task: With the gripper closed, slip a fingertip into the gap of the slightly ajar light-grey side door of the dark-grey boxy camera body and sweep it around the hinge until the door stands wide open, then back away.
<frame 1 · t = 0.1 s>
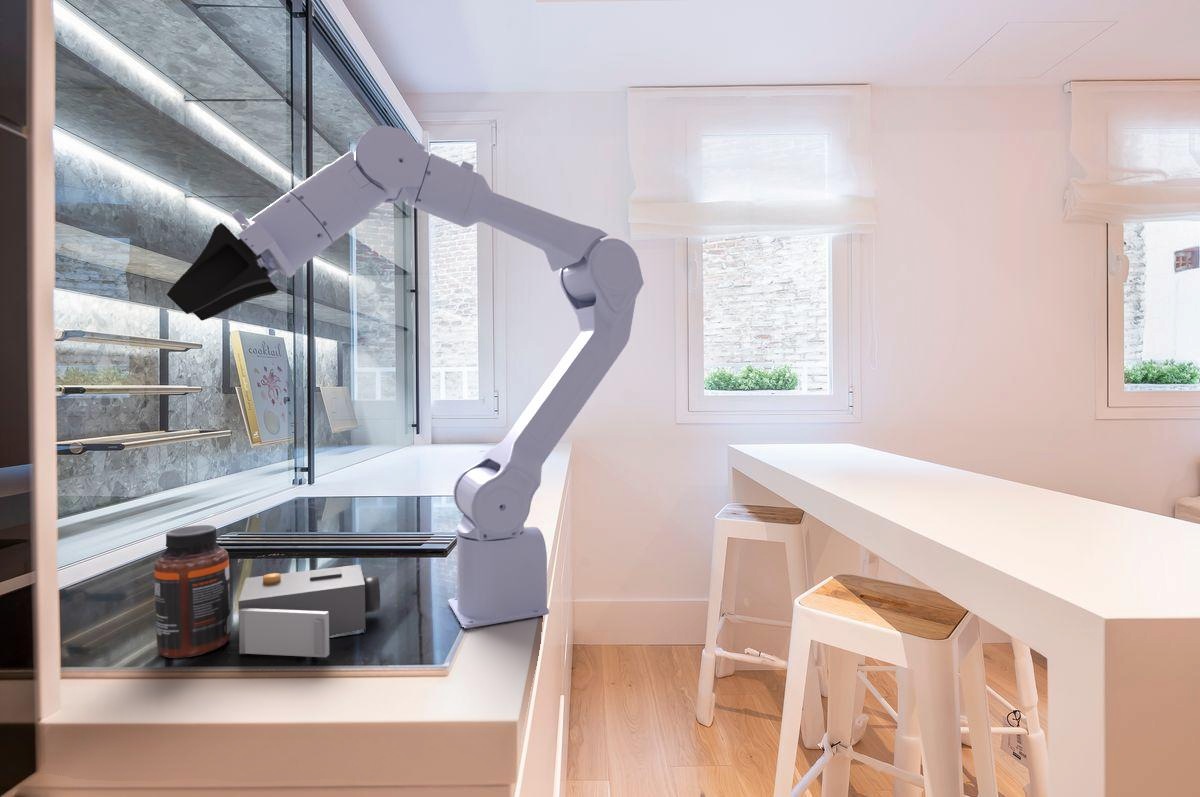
hand: (185, 308, 55), 32 cm above the counter, tool tilted 50°, fingers open, 7 cm apart
supplement bottle: (195, 648, 59), on the counter
camera body: (305, 629, 63), on the counter
side door: (282, 633, 56), point 2 cm above the counter, hinge at 30.0°
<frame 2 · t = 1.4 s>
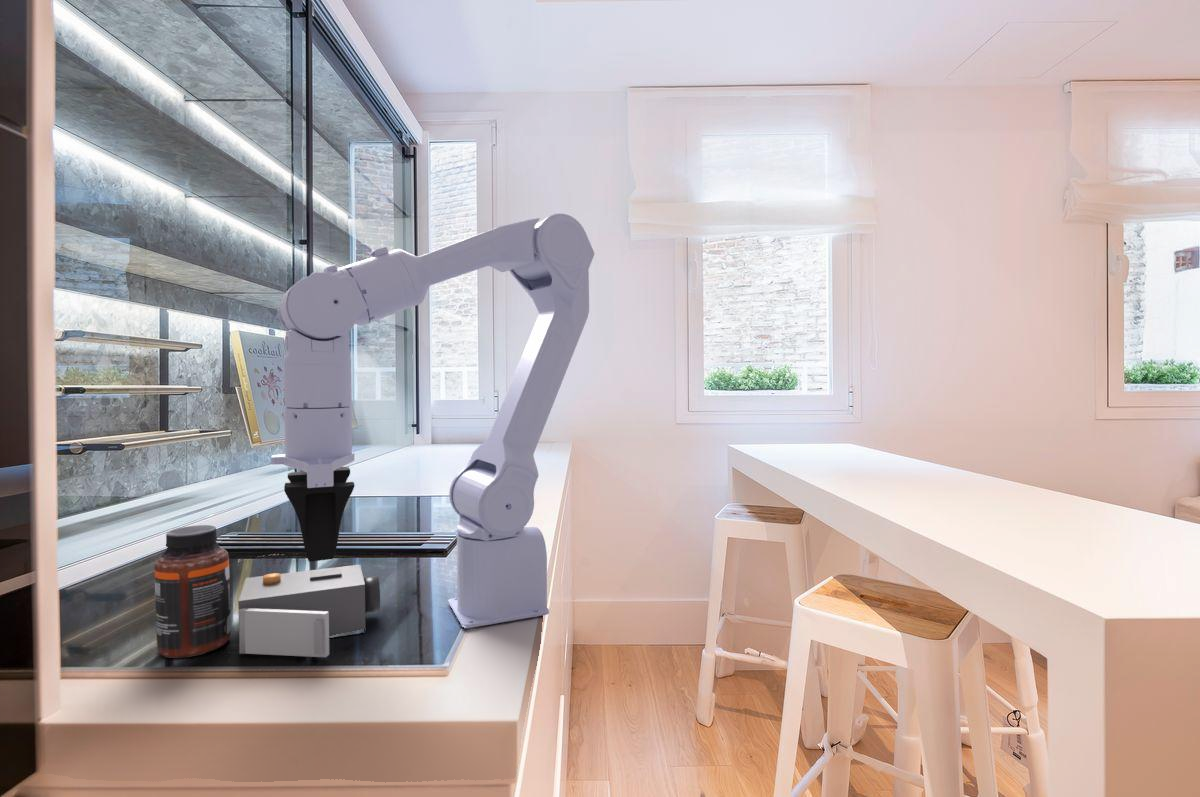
hand: (320, 550, 58), 9 cm above the counter, tool pointing down, fingers open, 5 cm apart
nothing on the counter moved.
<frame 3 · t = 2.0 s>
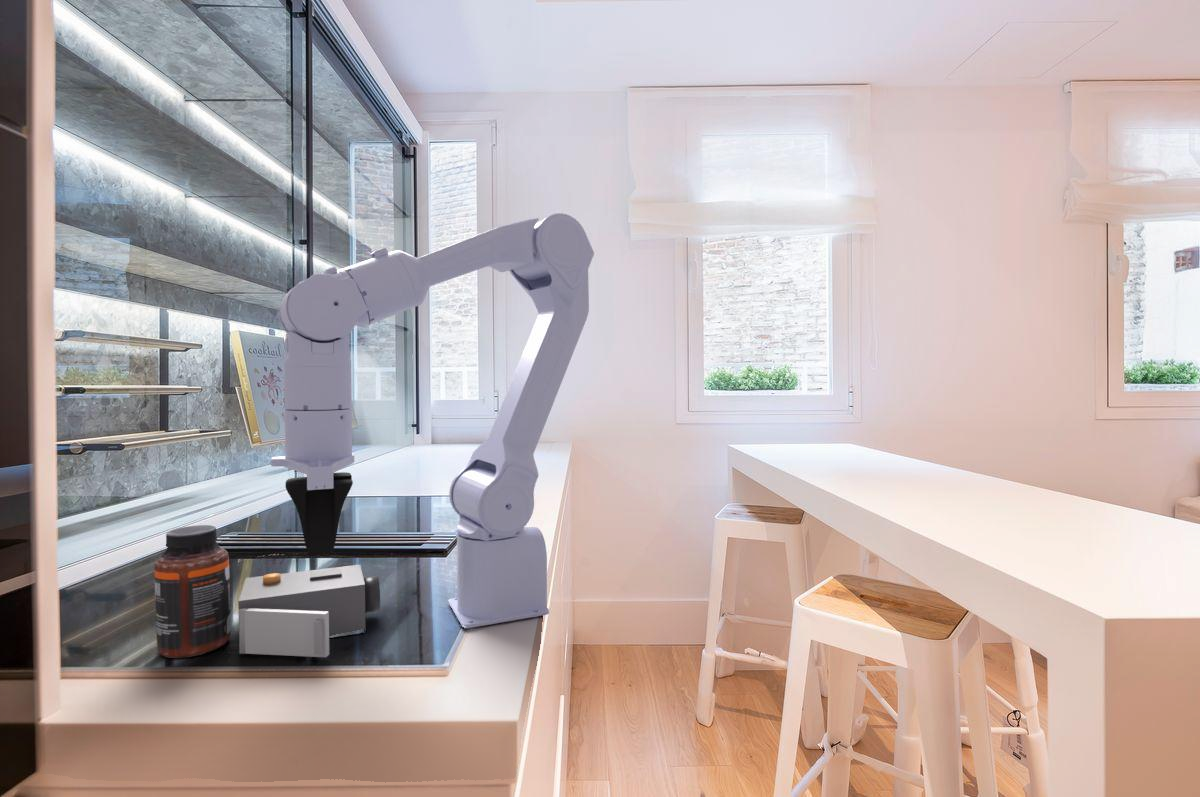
hand: (320, 552, 58), 9 cm above the counter, tool pointing down, fingers closed
nothing on the counter moved.
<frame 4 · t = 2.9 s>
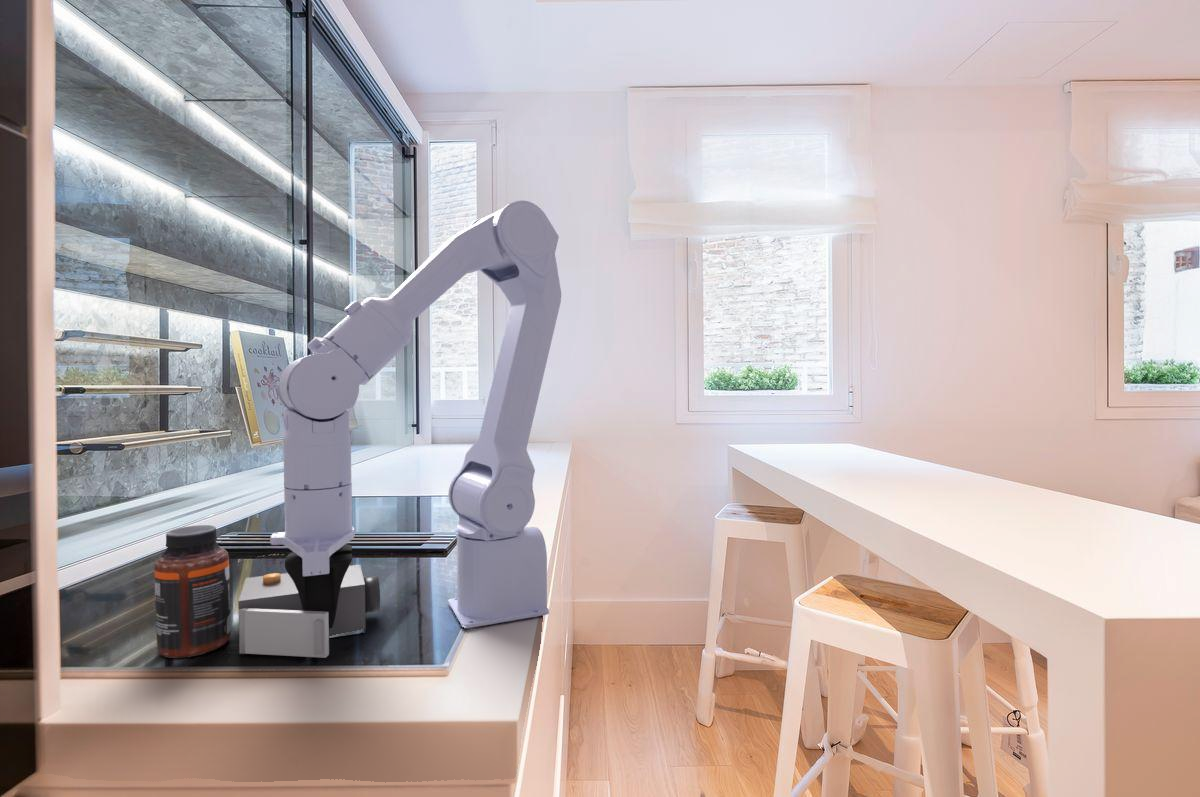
hand: (320, 628, 58), 2 cm above the counter, tool pointing down, fingers closed, pressing on side door
side door: (281, 633, 56), point 2 cm above the counter, hinge at 30.5°, touching gripper
everything else where it was.
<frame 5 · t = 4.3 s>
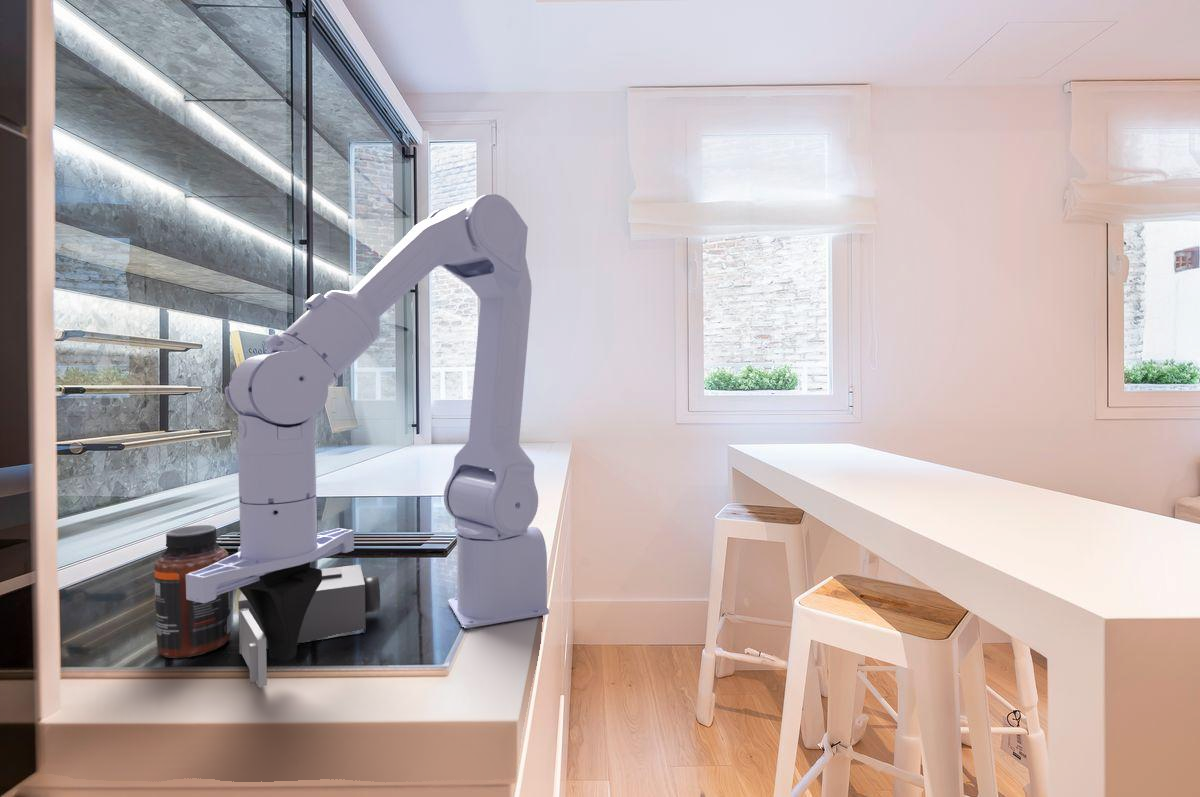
hand: (282, 657, 52), 2 cm above the counter, tool pointing down, fingers closed
side door: (249, 645, 54), point 2 cm above the counter, hinge at 75.8°, touching gripper
everything else where it was.
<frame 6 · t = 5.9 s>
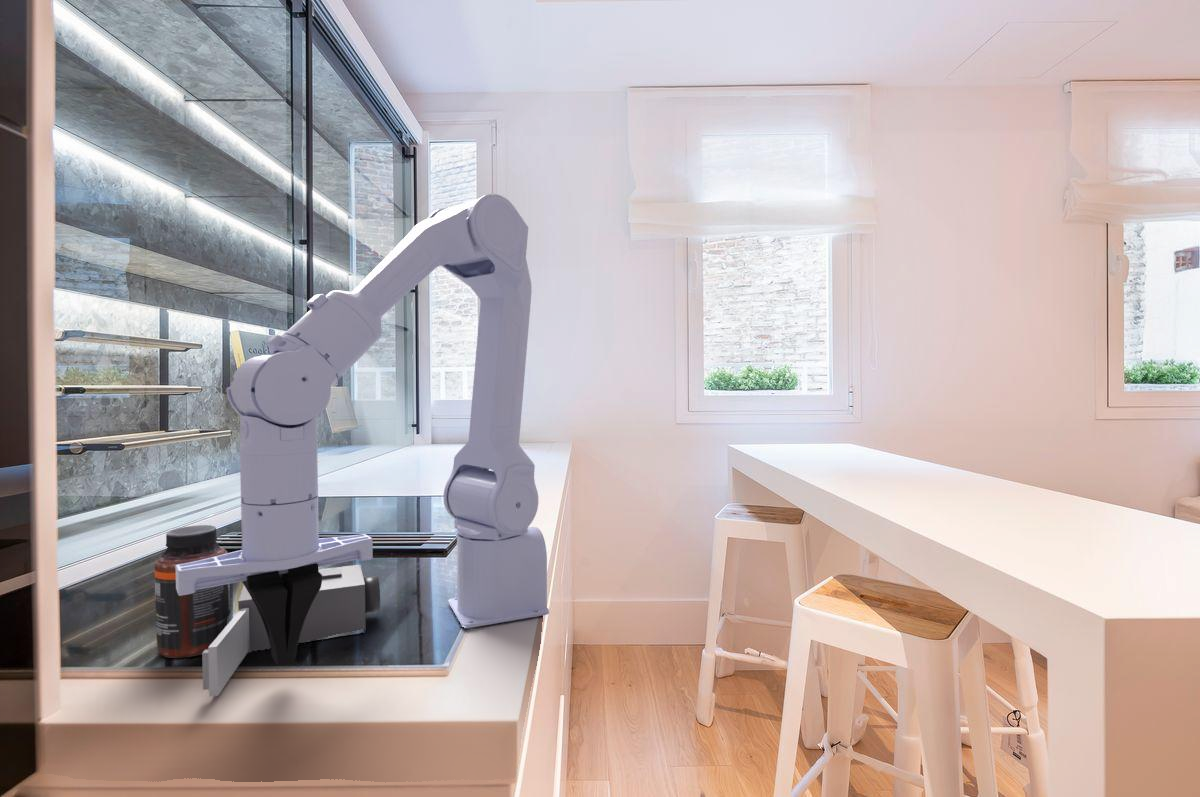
hand: (283, 658, 52), 2 cm above the counter, tool pointing down, fingers closed
side door: (228, 648, 53), point 2 cm above the counter, hinge at 100.7°
everything else where it was.
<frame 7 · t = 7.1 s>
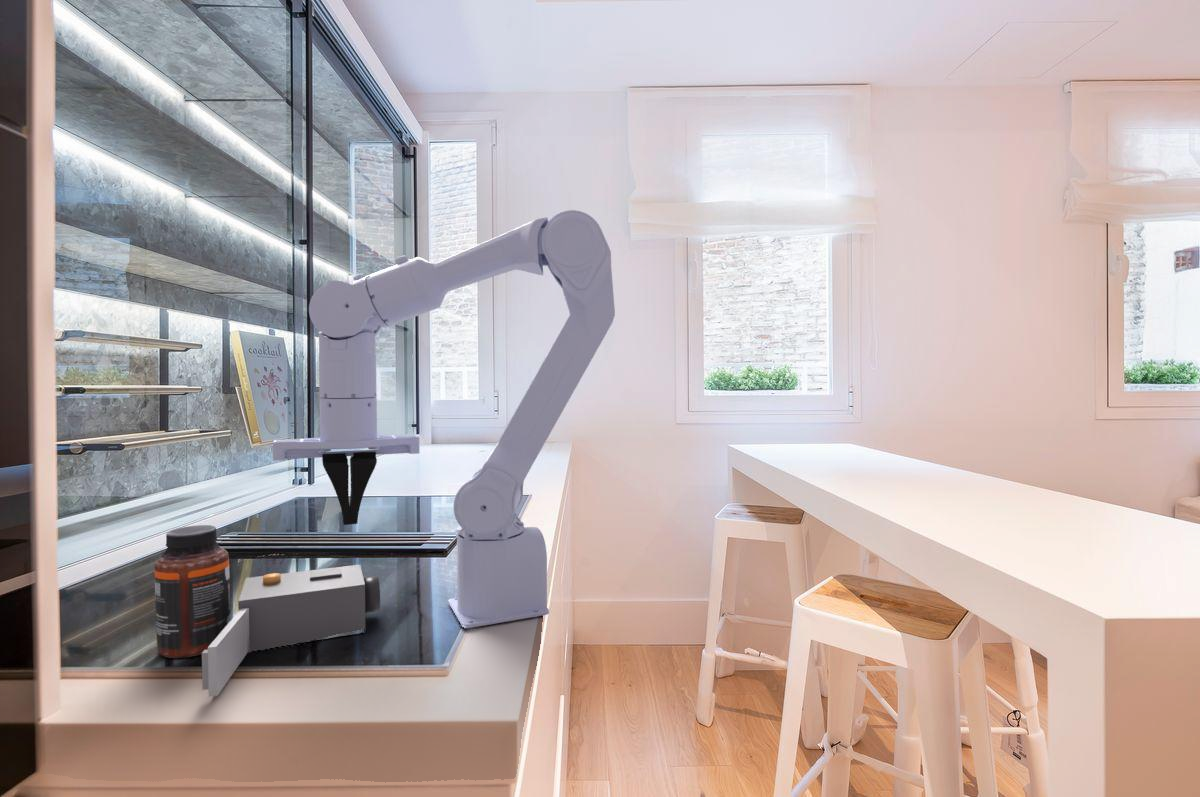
hand: (350, 522, 67), 10 cm above the counter, tool pointing down, fingers closed
nothing on the counter moved.
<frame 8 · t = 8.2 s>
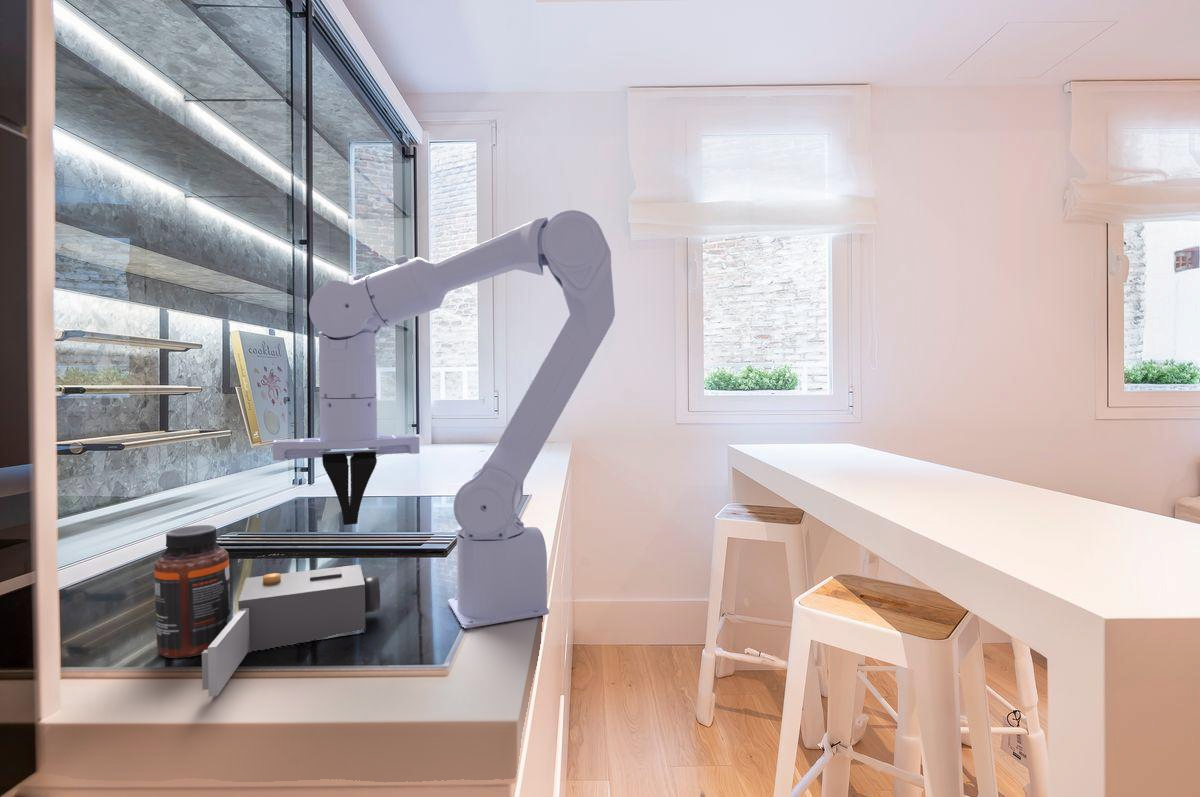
hand: (350, 522, 67), 10 cm above the counter, tool pointing down, fingers closed
nothing on the counter moved.
at the end: side door at +101° (first picture: +30°) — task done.
